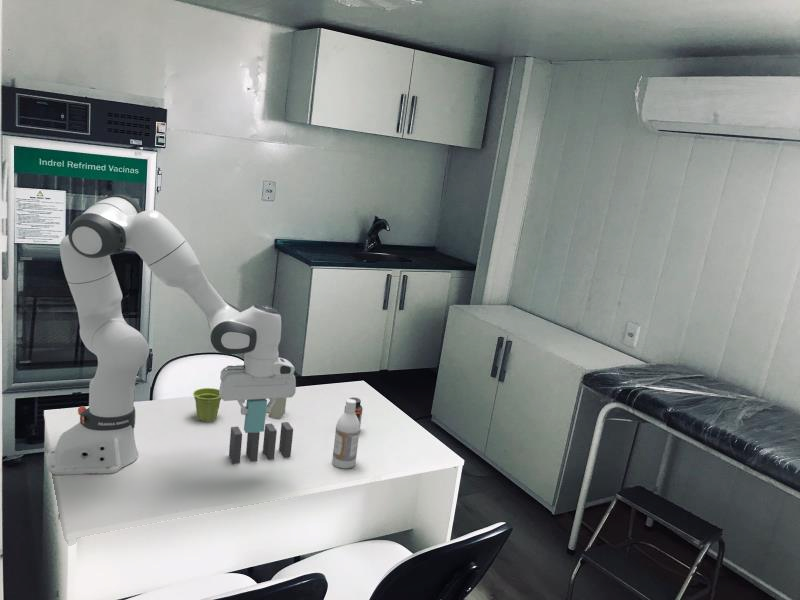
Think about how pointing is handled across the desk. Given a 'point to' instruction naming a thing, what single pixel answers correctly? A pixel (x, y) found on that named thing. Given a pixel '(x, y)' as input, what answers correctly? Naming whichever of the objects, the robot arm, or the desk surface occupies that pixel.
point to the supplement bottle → (357, 408)
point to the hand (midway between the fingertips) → (255, 413)
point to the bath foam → (346, 437)
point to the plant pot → (207, 403)
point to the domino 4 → (269, 441)
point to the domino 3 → (252, 446)
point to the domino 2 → (255, 415)
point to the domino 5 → (286, 439)
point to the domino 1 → (235, 445)
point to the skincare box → (278, 408)
